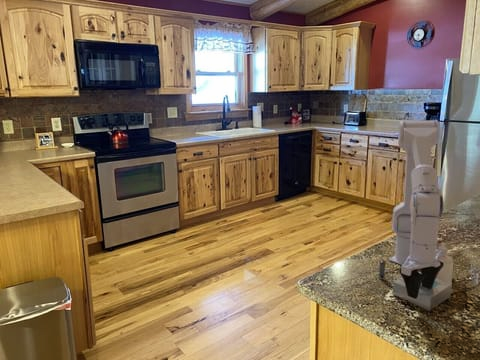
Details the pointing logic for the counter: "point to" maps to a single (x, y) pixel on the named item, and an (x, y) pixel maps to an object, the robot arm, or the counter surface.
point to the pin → (382, 268)
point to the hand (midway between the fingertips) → (419, 292)
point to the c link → (424, 293)
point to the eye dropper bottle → (445, 265)
